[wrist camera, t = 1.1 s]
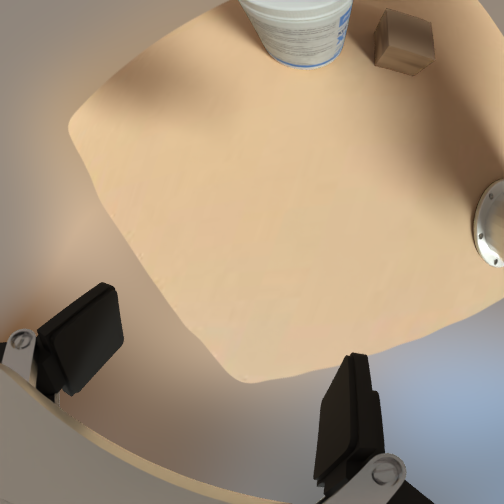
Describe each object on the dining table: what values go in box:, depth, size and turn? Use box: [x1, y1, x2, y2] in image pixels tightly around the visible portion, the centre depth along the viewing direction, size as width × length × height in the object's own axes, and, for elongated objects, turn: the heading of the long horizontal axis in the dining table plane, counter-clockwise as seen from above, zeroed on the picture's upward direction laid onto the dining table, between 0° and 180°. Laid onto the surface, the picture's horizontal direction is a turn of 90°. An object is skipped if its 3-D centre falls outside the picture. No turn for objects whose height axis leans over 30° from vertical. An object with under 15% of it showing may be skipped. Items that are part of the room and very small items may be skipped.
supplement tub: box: [238, 0, 353, 70], centre depth 17 cm, size 10×10×15 cm
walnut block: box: [374, 8, 435, 76], centre depth 19 cm, size 5×5×7 cm
